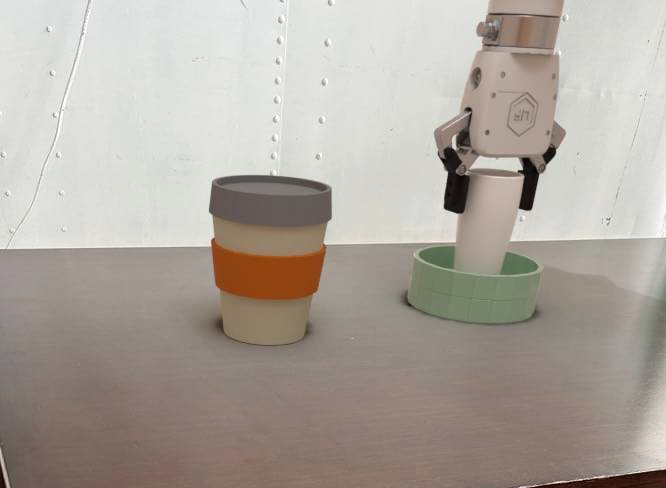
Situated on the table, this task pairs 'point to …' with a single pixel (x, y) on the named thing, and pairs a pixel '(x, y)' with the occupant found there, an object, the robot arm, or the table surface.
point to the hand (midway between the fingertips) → (487, 210)
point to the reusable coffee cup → (268, 253)
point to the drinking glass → (487, 220)
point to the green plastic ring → (474, 287)
